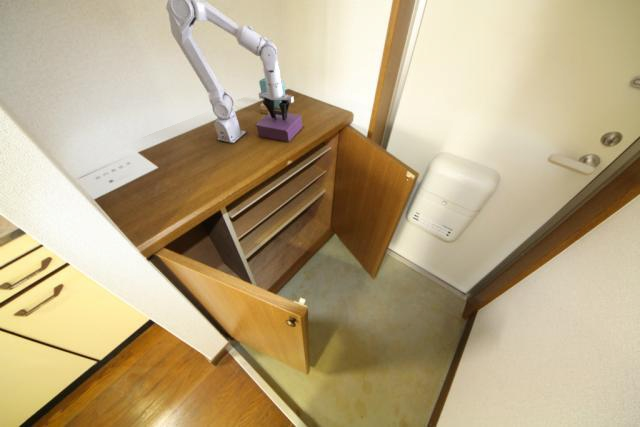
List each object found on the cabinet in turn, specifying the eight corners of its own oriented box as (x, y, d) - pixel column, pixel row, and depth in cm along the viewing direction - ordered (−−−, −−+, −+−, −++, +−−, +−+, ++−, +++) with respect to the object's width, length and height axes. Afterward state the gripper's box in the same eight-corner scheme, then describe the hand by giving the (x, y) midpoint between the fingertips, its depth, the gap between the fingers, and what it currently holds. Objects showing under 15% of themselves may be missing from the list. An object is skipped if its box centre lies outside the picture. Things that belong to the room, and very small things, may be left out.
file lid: (286, 132, 87) (285, 122, 84) (255, 126, 90) (253, 116, 87) (301, 116, 95) (300, 107, 92) (272, 111, 99) (270, 102, 96)
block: (268, 114, 108) (267, 105, 105) (261, 113, 109) (260, 104, 106) (273, 110, 111) (271, 102, 108) (266, 109, 112) (264, 101, 109)
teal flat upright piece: (287, 106, 114) (283, 80, 105) (281, 109, 111) (277, 83, 102) (269, 101, 118) (264, 76, 109) (263, 105, 116) (258, 79, 107)
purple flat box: (288, 142, 91) (287, 131, 87) (258, 136, 94) (256, 125, 91) (302, 127, 99) (301, 116, 95) (274, 122, 103) (272, 112, 99)
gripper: (295, 80, 83) (299, 116, 93) (262, 76, 87) (269, 111, 97) (286, 87, 78) (291, 124, 89) (252, 82, 82) (260, 118, 92)
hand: (279, 118), depth 92 cm, fingers closed on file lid, 5 cm apart
